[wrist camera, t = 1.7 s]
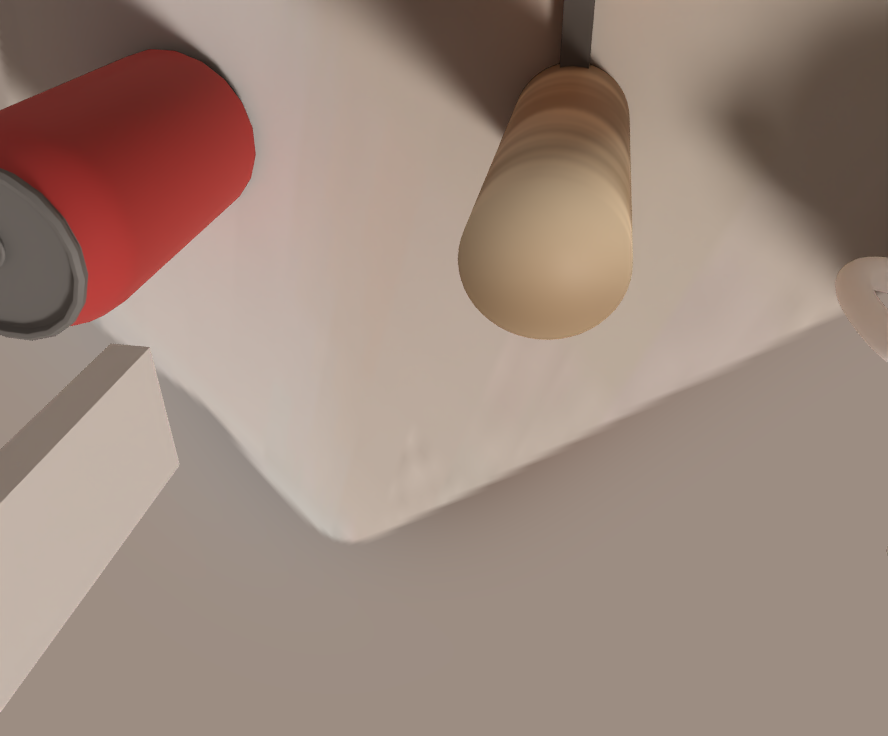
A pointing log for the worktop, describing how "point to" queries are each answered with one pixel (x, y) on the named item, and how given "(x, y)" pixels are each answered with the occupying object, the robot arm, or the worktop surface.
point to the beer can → (111, 184)
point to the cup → (866, 300)
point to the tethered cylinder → (556, 201)
